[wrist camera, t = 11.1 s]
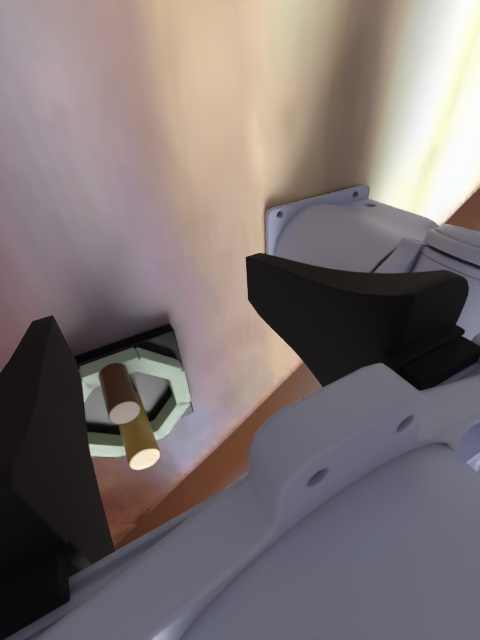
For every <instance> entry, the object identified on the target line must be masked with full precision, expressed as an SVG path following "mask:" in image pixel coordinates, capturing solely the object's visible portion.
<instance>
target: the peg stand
mask: <svg viewBox="0 0 480 640" xmlns="http://www.w3.org/2000/svg"><path fill="white" fill-rule="evenodd" d="M132 347H134V349H136V348H137V347H138V348H141V349H145V350H148V351H151V352H154V353H158V354H161V355H164V356H167V357H170V358H174V359H177V360H178V361H179V362H180V364H181V365H182V361H181V357H180V353H179V349H178V345H177V340H176V336H175V332H174V329H173V328H172V326H171V324H167V325H164V326H161V327H158V328H155V329H153V330H150V331H147V332H144V333H141V334H138V335H135V336H132V337H130V338H127V339H124V340H121V341H118V342H115V343H112V344H110V345H107V346H104V347H101V348H98V349H95V350H92V351H89V352H87V353H84V354H81V355H78V356H75V357H74V358H75V360H76V363H77V366H78V369H80V366H82V365H85V364H88V363H91V362H93V361H96V360H99V359H102V358H105V357H107V356H110V355H113V354H116V353H118V352H121V351H124V350H127V349H130V348H132ZM182 367H183V366H182ZM129 376H130V379H131V381H132V384H133V387H134V390H135V393H136V395H137V398H138V401H139V404H140V407H141V410H140V413H139V415H138V416H137V417H136V418H135V419H133V420H132V421H130V422H128V423H124V424H115V423H113V422H111V421H110V420H109V417H108V413H107V409H106V405H105V401H104V397H103V393H102V389H101V385H100V386H98V387H95V388H93V390H92V391H91V393H90V394H89V396H88V397H87V399H86V400H85V402H84V406H85V416H86V425H87V432H95V433H105V434H115V435H121V437H122V441H123V445H124V448H125V452H126V456H127V459H128V463H129V466H130V467H131V468H132V469H134V470H142V469H145V468H148V467H150V466H152V465H153V464H154V463H156V462H157V460H158V459H159V457H160V450H159V447H158V444H157V441H156V439H155V436H154V433H153V431H152V428H151V425H150V422H151V421H153V420H154V419H155V418H156V416H157V415H158V414H159V412H160V411H161V409H162V408H163V407H164V405H165V404H166V403H167V401H168V400H169V398H170V397H171V396H172V392H171V389H170V385H169V382H168V379H165V378H161V377H157V376H153V375H149V374H145V373H141V372H134V373H131V374H129ZM192 412H193V408H192V403H191V402H190V405H189V406H188V408H187V409H186V410H185V412H184V413H183V414H182V416H181V417H184V416H186V415H188V414H190V413H192ZM181 417H180V418H181ZM94 457H96V456H91V458H94Z"/></svg>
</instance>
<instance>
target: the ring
mask: <svg viewBox="0 0 480 640" xmlns="http://www.w3.org/2000/svg"><path fill="white" fill-rule="evenodd" d="M78 370H79V374H80V378H81V382H82V388H83V397H84V402H85V400H86V399H87V397H88V396H89V394H90V393H91V391H92V390H93V388H95V387H98V386H100V385H101V389H102V393H103V397H104V401H105V405H106V409H107V413H108V417H109V420H110V421H111V422H113V423H115V424H124V423H128V422H130V421H132V420H133V419H135V418H136V417H137V416H138V415H139V413H140V410H141V407H140V404H139V401H138V398H137V395H136V393H135V390H134V387H133V384H132V381H131V379H130V376H129V374H131V373H134V372H141V373H145V374H149V375H153V376H157V377H161V378H165V379H168V382H169V385H170V389H171V392H172V396H171V397H170V398H169V400H168V401H167V403H166V404H165V405H164V407H163V408H162V409H161V411H160V412H159V414H158V415H157V416H156V418H155V419H154V420H153V421H151V422H150V425H151V428H152V431H153V433H154V436H155V439H156V441H157V440H159V439H161V438H163V437H165V435H168V433H169V432H170V431H171V429H172V428H173V427H174V425H175V424H176V422H177V421H178V420H179V418H180V417H181V416H182V414H183V413H184V412H185V410H186V409H187V408H188V406H189V405H190V402H191V397H190V392H189V388H188V384H187V380H186V375H185V371H184V369H183V367H182V365H181V364H180V362H179V361H178V360H177V359H174V358H170V357H167V356H164V355H161V354H158V353H154V352H151V351H148V350H145V349H141V348H138V347H137V348H136V349H134V347H132V348H130V349H127V350H124V351H121V352H118V353H116V354H113V355H110V356H107V357H105V358H102V359H99V360H96V361H93V362H91V363H88V364H85V365H82V366H80V369H78ZM87 435H88V443H89V449H90V454H91V456H105V457H120V456H121V455H122V456H125V455H126V452H125V448H124V445H123V441H122V437H121V435H115V434H105V433H95V432H87Z"/></svg>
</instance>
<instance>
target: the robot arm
mask: <svg viewBox="0 0 480 640" xmlns="http://www.w3.org/2000/svg"><path fill="white" fill-rule="evenodd" d="M353 193H354V195H353ZM368 196H369V186H367V185H360V186H356V187H352V188H348V189H344V190H340V191H336V192H332V193H328V194H324V195H320V196H316V197H312V198H308V199H304V200H300V201H296V202H292V203H288V204H284V205H280V206H276V207H272V208H270V209H268V210H267V212H266V254H263V253H258V254H254V255H251V256H248V257H246V270H247V288H248V300H249V302H250V303H251V304H252V306H253V307H254V309H255V310H256V311H257V313H258V314H259V315H260V317H261V318H262V319H263V320H264V321H265V322H266V323H267V324H268V325H269V326H270V327H271V328H272V329H273V330H274V331H275V332H276V333H277V334H278V335H279V336H280V337H281V338H282V339H283V340H284V341H285V342H286V343H287V344H288V345H289V346H290V347H291V348H292V349H293V350H294V351H295V352H296V353H297V354H298V356H299V357H300V358H301V359H302V360H303V362H304V363H305V364H306V365H307V367H308V368H309V369H310V371H311V372H312V373H313V374H314V376H315V377H316V378H317V380H318V381H319V383H320V384H321V385H322V387H323V388H321V389H319V390H317V391H315V392H313V393H311V394H309V395H307V396H305V397H303V398H301V399H299V400H297V401H295V402H293V403H291V404H289V405H287V406H285V407H283V408H282V409H281V410H279V411H278V412H276V413H275V414H273V415H272V416H271V417H269V418H268V419H267V420H266V421H265V422H264V423H263V425H262V426H261V427H260V428H259V430H258V431H257V432H256V434H255V435H254V437H253V441H252V444H251V448H250V452H249V455H248V456H249V467H250V470H249V471H248V472H247V473H245V474H244V475H243V476H241V477H240V478H239V479H238V480H236V481H235V482H234V483H233V484H231V485H230V486H229V487H227V488H226V489H225V490H223V491H222V492H220V493H218V494H216V495H214V496H213V497H211V498H209V499H207V500H206V501H204V502H202V503H200V504H199V505H197V506H195V507H193V508H191V509H190V510H188V511H186V512H184V513H183V514H181V515H179V516H177V517H175V518H174V519H172V520H170V521H168V522H167V523H165V524H163V525H161V526H159V527H158V528H156V529H154V530H152V531H151V532H149V533H147V534H145V535H143V536H142V537H140V538H138V539H136V540H135V541H133V542H131V543H129V544H128V545H126V546H124V547H122V548H121V549H119V550H117V551H115V549H114V545H113V542H112V538H111V534H110V531H109V527H108V523H107V519H106V515H105V512H104V508H103V504H102V500H101V496H100V492H99V488H98V484H97V480H96V475H95V471H94V467H93V462H92V458H91V454H90V449H89V443H88V435H87V425H86V416H85V406H84V397H83V388H82V382H81V378H80V374H79V370H78V366H77V363H76V360H75V358H74V356H73V354H72V352H71V350H70V348H69V346H68V344H67V342H66V340H65V338H64V336H63V334H62V332H61V330H60V328H59V326H58V324H57V322H56V320H55V318H54V317H53V315H52V316H49V317H45V318H42V319H39V320H35V321H32V323H31V325H30V326H29V328H28V330H27V331H26V333H25V335H24V337H23V338H22V340H21V342H20V344H19V345H18V347H17V349H16V350H15V352H14V354H13V355H12V357H11V358H10V360H9V362H8V363H7V364H6V366H5V367H4V369H3V370H2V372H1V373H0V640H480V474H479V473H478V472H477V470H479V469H480V232H477V231H473V230H469V229H466V228H462V227H458V226H454V225H449V224H444V225H442V226H440V227H439V226H438V225H437V224H436V223H435V222H433V221H432V220H430V219H428V218H425V217H423V216H420V215H416V214H413V213H410V212H407V211H404V210H401V209H398V208H395V207H392V206H389V205H386V204H383V203H380V202H377V201H374V200H371V199H368ZM279 211H280V215H279V216H277V213H278V212H279Z"/></svg>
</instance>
